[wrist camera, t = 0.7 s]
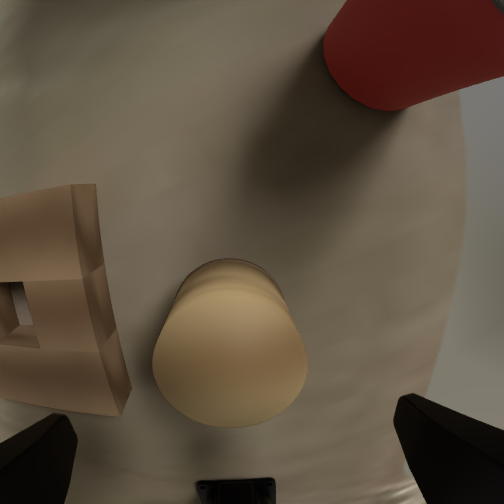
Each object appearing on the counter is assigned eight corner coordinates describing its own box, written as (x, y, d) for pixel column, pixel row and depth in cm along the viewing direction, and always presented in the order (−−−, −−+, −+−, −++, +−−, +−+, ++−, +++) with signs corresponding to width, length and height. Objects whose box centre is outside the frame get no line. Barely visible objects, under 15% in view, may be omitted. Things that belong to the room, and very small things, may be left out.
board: (131, 388, 18) (120, 416, 15) (3, 373, 18) (-15, 392, 15) (95, 183, 16) (70, 184, 13) (-37, 210, 15) (-64, 215, 12)
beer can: (351, 127, 16) (520, 67, 4) (299, 28, 14) (381, -120, 3) (433, 99, 16) (586, 59, 4) (387, 11, 14) (498, -82, 2)
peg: (276, 329, 18) (306, 421, 10) (189, 334, 18) (167, 429, 10) (274, 242, 17) (310, 292, 9) (178, 248, 17) (137, 303, 9)
